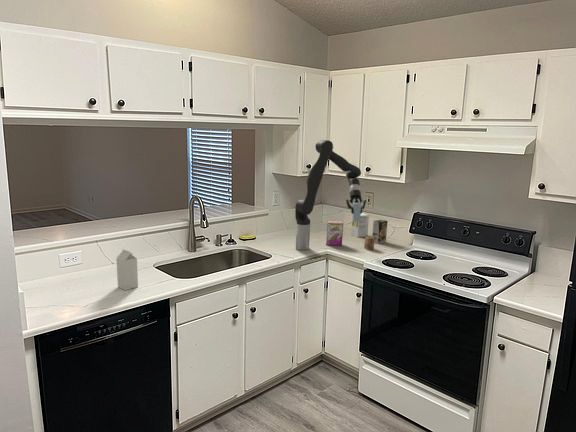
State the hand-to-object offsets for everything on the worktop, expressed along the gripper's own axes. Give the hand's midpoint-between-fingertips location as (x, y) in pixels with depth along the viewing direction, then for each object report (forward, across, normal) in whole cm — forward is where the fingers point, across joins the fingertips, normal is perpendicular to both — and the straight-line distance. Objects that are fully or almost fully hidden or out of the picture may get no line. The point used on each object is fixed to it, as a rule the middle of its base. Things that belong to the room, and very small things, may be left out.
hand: (357, 213), depth 294 cm
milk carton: (+72, -126, -36) cm, 149 cm away
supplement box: (-14, +11, +51) cm, 54 cm away
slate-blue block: (+3, 0, +5) cm, 6 cm away
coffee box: (0, +22, +37) cm, 43 cm away
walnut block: (+14, +11, +24) cm, 29 cm away
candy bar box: (+7, -12, +30) cm, 33 cm away
